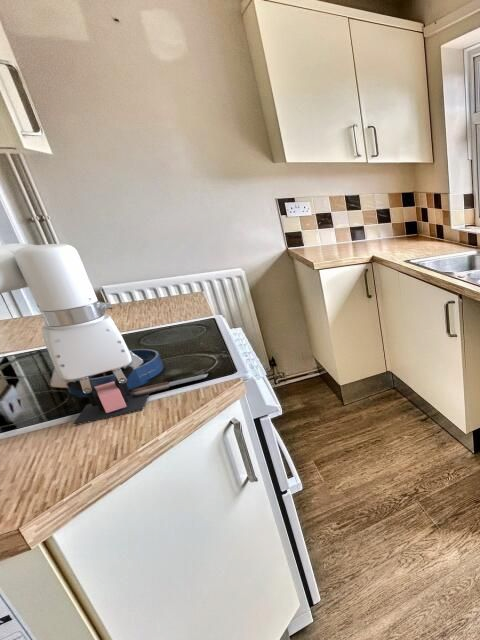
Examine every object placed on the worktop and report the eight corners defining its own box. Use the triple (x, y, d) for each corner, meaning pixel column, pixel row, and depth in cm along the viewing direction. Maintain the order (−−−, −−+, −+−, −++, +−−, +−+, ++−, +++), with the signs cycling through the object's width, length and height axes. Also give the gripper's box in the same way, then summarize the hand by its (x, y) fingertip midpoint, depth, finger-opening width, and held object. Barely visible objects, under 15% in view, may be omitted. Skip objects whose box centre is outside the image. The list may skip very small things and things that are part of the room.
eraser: (106, 413, 79) (99, 397, 78) (100, 402, 83) (93, 386, 82) (126, 406, 81) (120, 390, 80) (120, 396, 85) (113, 381, 84)
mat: (73, 425, 77) (72, 423, 77) (87, 406, 84) (86, 404, 84) (142, 410, 82) (141, 408, 82) (150, 393, 88) (149, 391, 88)
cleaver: (207, 370, 96) (207, 373, 92) (209, 376, 97) (209, 379, 93) (131, 386, 89) (129, 391, 85) (134, 393, 89) (131, 397, 85)
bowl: (58, 407, 83) (48, 387, 82) (83, 376, 96) (75, 358, 95) (158, 387, 91) (151, 368, 89) (170, 360, 104) (163, 344, 102)
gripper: (128, 300, 83) (160, 382, 90) (5, 323, 72) (52, 415, 79) (136, 307, 79) (169, 393, 86) (6, 332, 67) (56, 429, 74)
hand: (113, 403), depth 82 cm, fingers closed on eraser, 3 cm apart
